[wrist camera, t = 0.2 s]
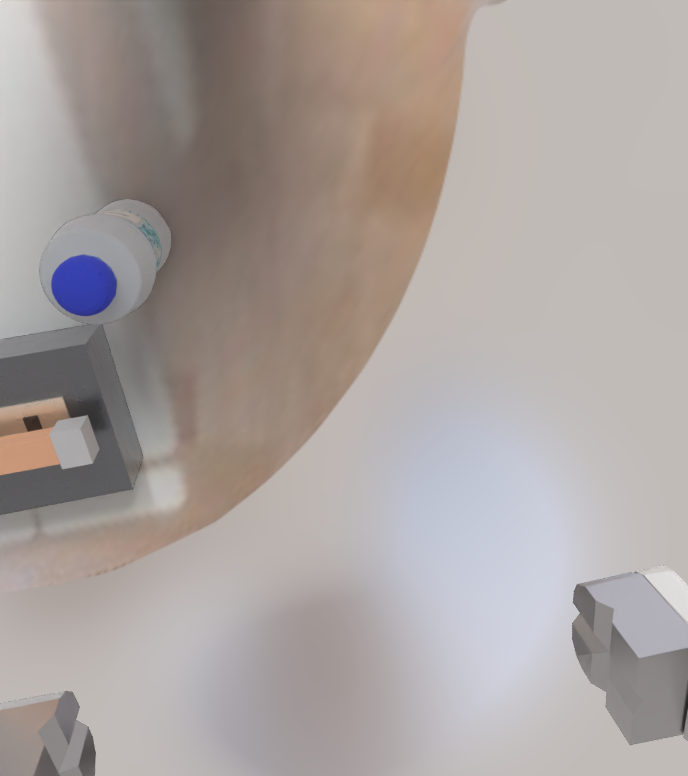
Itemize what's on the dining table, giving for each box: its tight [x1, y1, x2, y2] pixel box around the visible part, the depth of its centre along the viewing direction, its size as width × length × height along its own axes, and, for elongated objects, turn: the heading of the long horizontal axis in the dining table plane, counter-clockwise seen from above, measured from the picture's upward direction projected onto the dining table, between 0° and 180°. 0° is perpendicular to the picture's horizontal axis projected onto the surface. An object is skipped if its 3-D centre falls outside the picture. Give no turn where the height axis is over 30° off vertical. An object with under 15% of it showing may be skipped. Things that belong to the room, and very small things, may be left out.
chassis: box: [0, 324, 143, 515], centre depth 53 cm, size 14×20×6 cm
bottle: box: [39, 199, 171, 324], centre depth 43 cm, size 7×7×20 cm
